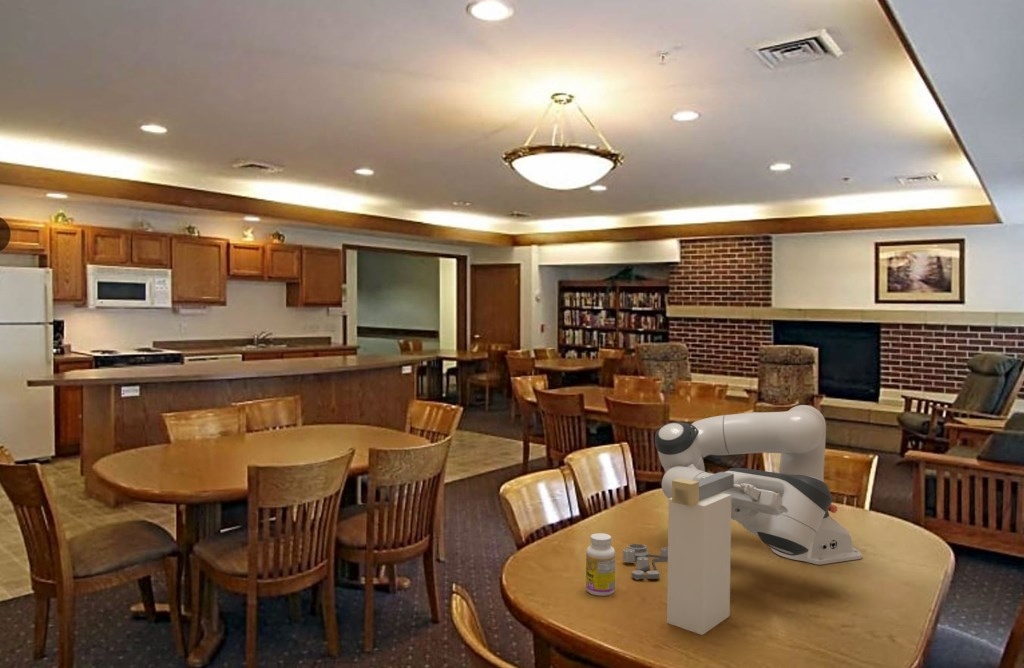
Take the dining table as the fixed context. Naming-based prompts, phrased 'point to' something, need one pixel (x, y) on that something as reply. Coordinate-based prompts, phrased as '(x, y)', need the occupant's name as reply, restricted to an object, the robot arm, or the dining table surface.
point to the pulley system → (643, 560)
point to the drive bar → (700, 488)
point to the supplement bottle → (600, 566)
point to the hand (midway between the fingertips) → (722, 483)
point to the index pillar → (699, 563)
